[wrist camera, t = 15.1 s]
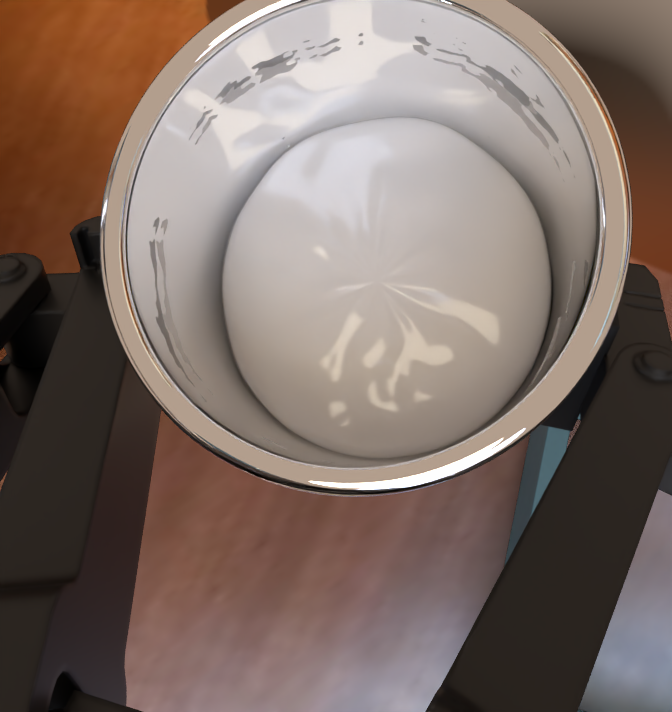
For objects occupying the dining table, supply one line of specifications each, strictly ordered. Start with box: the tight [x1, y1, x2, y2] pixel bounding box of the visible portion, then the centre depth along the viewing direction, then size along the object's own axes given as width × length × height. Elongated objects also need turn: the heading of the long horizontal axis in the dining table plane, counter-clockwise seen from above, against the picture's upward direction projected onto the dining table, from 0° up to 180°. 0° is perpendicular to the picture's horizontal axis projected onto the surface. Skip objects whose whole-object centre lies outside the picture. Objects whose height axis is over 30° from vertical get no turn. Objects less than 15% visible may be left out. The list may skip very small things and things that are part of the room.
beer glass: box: [100, 0, 632, 497], centre depth 15 cm, size 7×7×15 cm
